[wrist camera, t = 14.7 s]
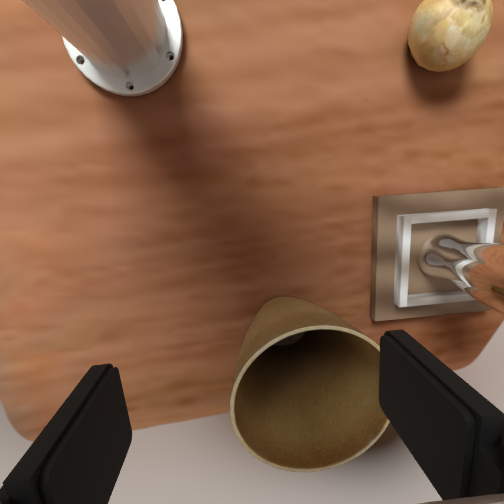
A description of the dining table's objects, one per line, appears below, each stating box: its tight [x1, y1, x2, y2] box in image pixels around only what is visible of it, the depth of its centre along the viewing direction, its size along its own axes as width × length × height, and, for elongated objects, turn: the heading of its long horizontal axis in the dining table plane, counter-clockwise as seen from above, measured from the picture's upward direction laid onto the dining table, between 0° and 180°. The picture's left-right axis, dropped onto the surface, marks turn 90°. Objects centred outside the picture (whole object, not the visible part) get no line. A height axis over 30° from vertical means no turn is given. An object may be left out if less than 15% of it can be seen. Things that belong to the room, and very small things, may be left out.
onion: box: [408, 0, 493, 72], centre depth 30 cm, size 8×8×7 cm
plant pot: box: [230, 296, 390, 472], centre depth 33 cm, size 15×15×16 cm
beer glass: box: [418, 233, 504, 314], centre depth 31 cm, size 7×7×15 cm
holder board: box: [370, 187, 504, 321], centre depth 38 cm, size 17×17×3 cm
